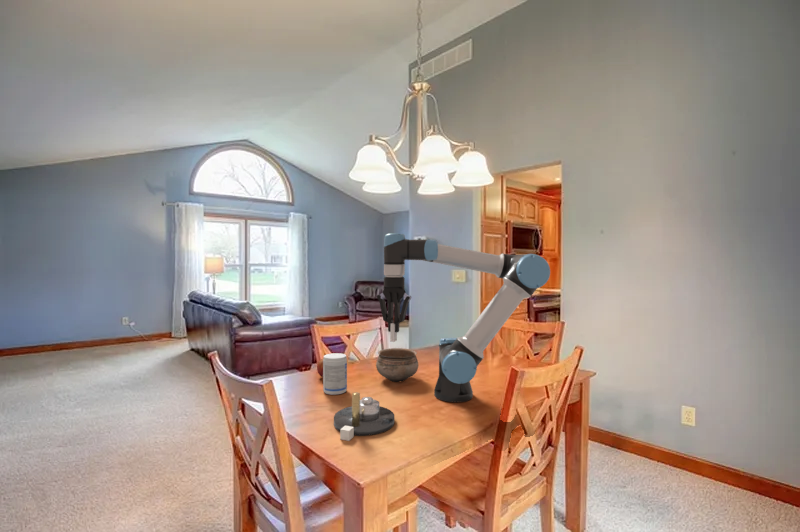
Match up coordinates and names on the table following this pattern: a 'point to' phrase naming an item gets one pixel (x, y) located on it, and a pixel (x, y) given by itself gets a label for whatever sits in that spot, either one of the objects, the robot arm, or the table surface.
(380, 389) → the table surface
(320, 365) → the fruit
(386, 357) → the cooking pot
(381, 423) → the turntable
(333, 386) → the supplement tub
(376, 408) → the cover
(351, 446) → the table surface
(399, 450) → the table surface
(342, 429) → the white cube
